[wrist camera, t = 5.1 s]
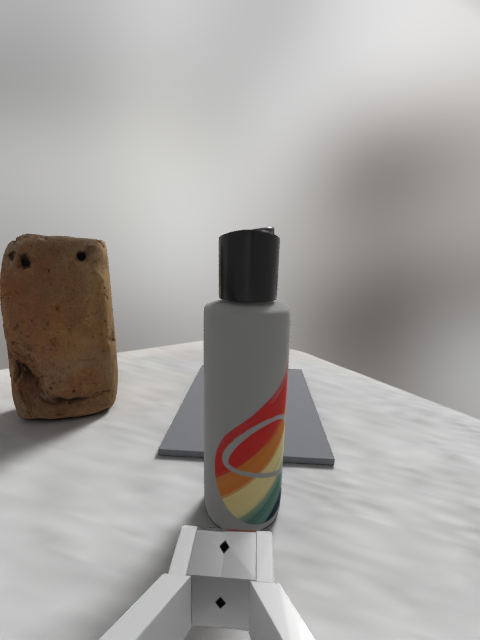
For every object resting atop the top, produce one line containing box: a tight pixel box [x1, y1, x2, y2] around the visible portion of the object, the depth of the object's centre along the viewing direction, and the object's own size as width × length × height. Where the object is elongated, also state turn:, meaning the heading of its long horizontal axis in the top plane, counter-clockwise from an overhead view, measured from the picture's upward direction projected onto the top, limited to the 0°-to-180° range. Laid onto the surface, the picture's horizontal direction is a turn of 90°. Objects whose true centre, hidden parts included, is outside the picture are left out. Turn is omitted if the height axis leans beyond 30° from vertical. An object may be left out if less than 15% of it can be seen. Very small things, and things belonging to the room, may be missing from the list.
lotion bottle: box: [204, 227, 291, 531], centre depth 21 cm, size 6×6×20 cm
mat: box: [159, 365, 335, 465], centre depth 39 cm, size 22×16×1 cm
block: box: [0, 234, 118, 419], centre depth 35 cm, size 11×8×20 cm
